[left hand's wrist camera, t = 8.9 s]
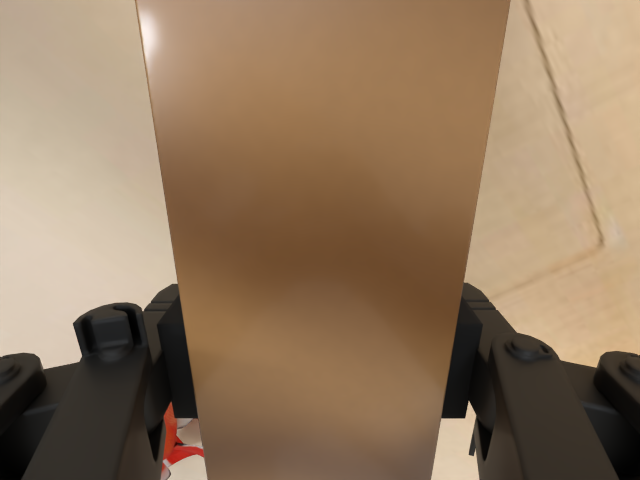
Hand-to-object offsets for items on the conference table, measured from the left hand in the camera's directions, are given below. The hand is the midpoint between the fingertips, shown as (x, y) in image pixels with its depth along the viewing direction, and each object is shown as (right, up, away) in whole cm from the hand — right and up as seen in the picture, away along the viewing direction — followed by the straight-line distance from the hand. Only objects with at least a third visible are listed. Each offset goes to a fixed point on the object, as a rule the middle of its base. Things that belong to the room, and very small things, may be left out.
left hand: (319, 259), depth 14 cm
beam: (0, +31, -11) cm, 33 cm away
